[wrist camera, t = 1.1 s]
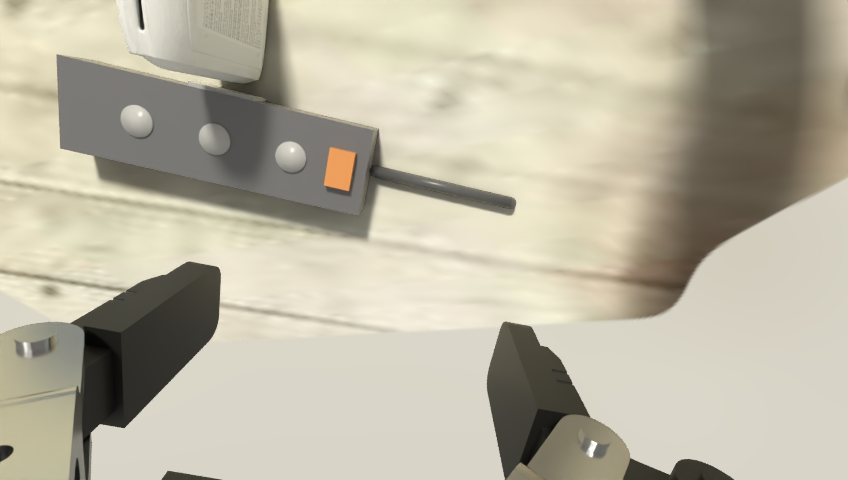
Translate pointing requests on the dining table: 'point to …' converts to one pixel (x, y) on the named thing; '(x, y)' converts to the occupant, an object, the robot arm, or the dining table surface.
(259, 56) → the photo printer
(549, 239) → the dining table surface
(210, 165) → the power strip
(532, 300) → the dining table surface
